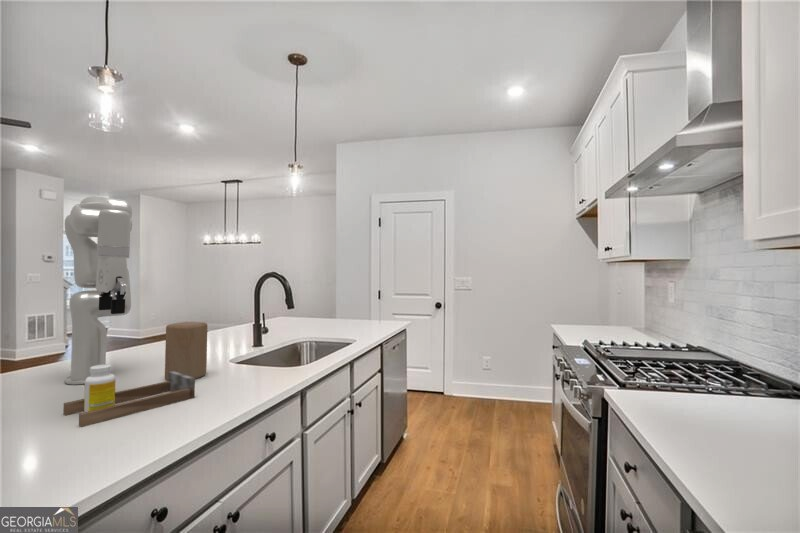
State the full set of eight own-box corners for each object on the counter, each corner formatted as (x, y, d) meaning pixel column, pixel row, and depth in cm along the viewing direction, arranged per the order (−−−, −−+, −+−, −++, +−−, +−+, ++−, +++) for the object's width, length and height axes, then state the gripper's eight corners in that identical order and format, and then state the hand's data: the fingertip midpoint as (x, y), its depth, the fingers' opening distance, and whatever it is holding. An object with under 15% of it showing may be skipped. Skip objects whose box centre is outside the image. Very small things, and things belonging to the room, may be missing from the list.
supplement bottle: (120, 411, 106) (121, 365, 106) (92, 419, 100) (93, 370, 100) (106, 407, 108) (107, 362, 109) (78, 415, 102) (79, 367, 103)
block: (187, 382, 133) (189, 325, 133) (163, 380, 135) (164, 324, 135) (207, 375, 143) (208, 322, 143) (184, 373, 145) (185, 321, 145)
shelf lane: (63, 414, 103) (63, 392, 103) (172, 389, 126) (173, 370, 126) (80, 427, 95) (81, 402, 95) (194, 397, 118) (194, 378, 118)
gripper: (87, 251, 112) (85, 309, 112) (108, 252, 102) (106, 316, 102) (117, 252, 118) (115, 307, 118) (140, 254, 108) (138, 314, 108)
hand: (111, 311), depth 110 cm, fingers open, 9 cm apart
